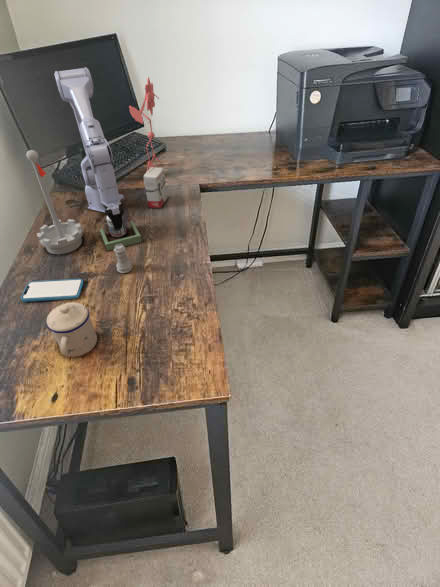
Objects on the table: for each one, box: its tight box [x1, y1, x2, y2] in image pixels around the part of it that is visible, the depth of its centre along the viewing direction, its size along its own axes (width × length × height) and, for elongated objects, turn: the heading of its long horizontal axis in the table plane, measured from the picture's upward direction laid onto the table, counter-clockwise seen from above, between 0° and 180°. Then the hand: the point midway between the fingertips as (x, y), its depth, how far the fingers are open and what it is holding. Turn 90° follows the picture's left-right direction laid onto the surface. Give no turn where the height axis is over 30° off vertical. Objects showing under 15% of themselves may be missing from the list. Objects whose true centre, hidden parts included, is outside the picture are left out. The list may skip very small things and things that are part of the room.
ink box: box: [142, 166, 168, 209], centre depth 137 cm, size 9×5×12 cm, turn 168°
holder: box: [99, 220, 143, 252], centre depth 123 cm, size 10×11×2 cm
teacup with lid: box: [46, 301, 98, 358], centre depth 85 cm, size 12×9×12 cm
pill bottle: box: [105, 208, 127, 238], centre depth 123 cm, size 5×5×9 cm
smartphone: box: [20, 278, 84, 303], centre depth 104 cm, size 8×1×15 cm
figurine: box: [128, 76, 182, 183], centre depth 150 cm, size 15×26×35 cm, turn 177°
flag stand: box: [25, 149, 84, 255], centre depth 112 cm, size 13×13×30 cm
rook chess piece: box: [113, 244, 133, 274], centre depth 108 cm, size 4×4×8 cm
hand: (116, 224), depth 124 cm, fingers closed on pill bottle, 5 cm apart
